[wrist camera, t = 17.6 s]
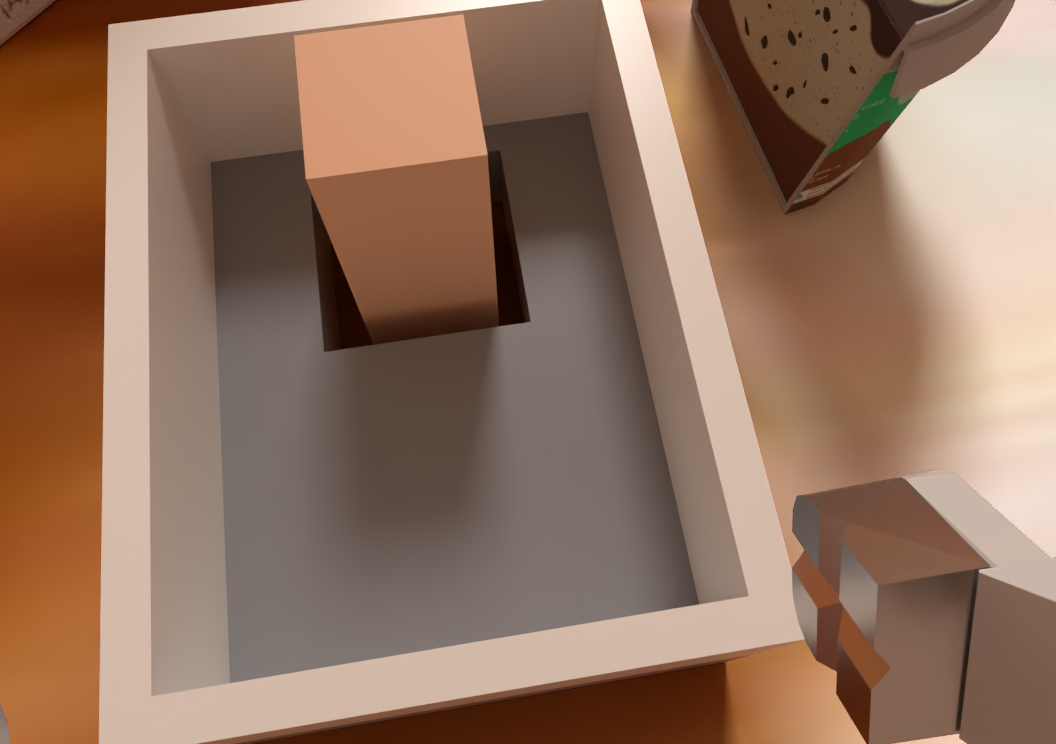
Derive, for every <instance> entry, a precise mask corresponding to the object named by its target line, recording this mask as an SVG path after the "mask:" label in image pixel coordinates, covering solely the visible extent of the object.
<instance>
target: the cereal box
mask: <svg viewBox="0 0 1056 744" xmlns="http://www.w3.org/2000/svg"><path fill="white" fill-rule="evenodd" d="M54 1H56V0H0V45H1V44H3V43H4V42H5V41H6V40H8V39H9V38H10V37H11V36H13V35H14V34H15V33H16V32H17V31H19V30H20V29H21V28H22V27H24V26H25V25H26V24H27V23H29V22H30V21H31V20H32V19H33V18H35V17H36V16H37V15H38V14H40V13H41V12H42V11H43V10H44V9H46V8H47V7H48V6H49V5H51V4H52V3H53V2H54Z"/></svg>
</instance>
